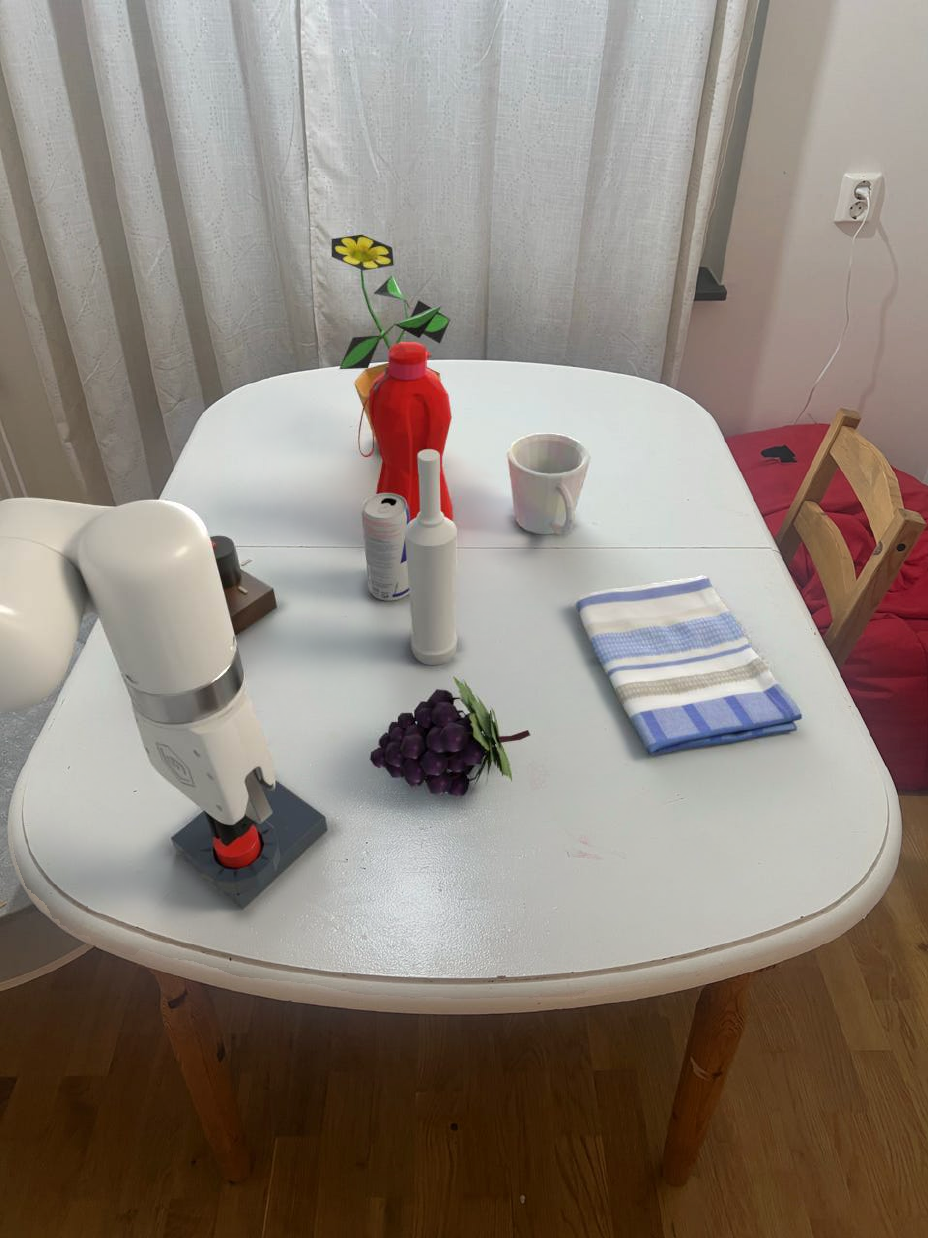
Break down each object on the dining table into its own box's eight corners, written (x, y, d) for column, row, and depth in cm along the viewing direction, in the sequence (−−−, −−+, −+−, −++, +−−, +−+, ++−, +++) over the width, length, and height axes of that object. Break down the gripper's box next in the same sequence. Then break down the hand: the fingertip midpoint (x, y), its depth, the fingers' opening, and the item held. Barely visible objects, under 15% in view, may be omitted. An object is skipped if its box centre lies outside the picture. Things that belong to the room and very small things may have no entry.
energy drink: (419, 578, 104) (416, 496, 96) (404, 606, 100) (399, 522, 92) (378, 570, 105) (371, 488, 97) (361, 597, 101) (353, 514, 93)
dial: (249, 575, 100) (242, 542, 96) (220, 594, 97) (211, 561, 94) (224, 561, 102) (217, 528, 98) (195, 579, 99) (186, 546, 96)
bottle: (405, 662, 93) (393, 466, 77) (418, 631, 97) (409, 437, 80) (451, 670, 92) (449, 473, 76) (462, 638, 96) (462, 444, 79)
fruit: (389, 765, 87) (531, 728, 86) (390, 844, 78) (548, 804, 77) (356, 689, 81) (507, 648, 80) (352, 764, 72) (522, 720, 71)
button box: (242, 922, 71) (233, 896, 68) (168, 857, 75) (158, 831, 73) (333, 835, 77) (329, 809, 74) (261, 780, 82) (254, 753, 79)
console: (195, 664, 93) (189, 643, 91) (137, 624, 98) (130, 603, 96) (288, 599, 101) (285, 579, 99) (231, 565, 106) (227, 545, 104)
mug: (567, 491, 118) (574, 427, 111) (606, 556, 107) (616, 489, 101) (495, 501, 116) (497, 437, 110) (527, 568, 106) (532, 501, 99)
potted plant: (367, 489, 118) (348, 270, 98) (327, 426, 131) (303, 221, 111) (483, 462, 124) (488, 249, 104) (434, 404, 137) (430, 204, 116)
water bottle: (360, 517, 113) (343, 336, 97) (439, 504, 116) (436, 325, 99) (374, 558, 107) (358, 372, 90) (458, 544, 109) (458, 360, 92)
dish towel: (706, 586, 103) (711, 568, 101) (804, 733, 86) (812, 714, 84) (570, 606, 100) (572, 588, 99) (643, 762, 83) (647, 743, 81)
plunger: (236, 876, 70) (232, 865, 69) (208, 852, 72) (204, 841, 70) (269, 846, 72) (266, 835, 71) (241, 824, 74) (237, 812, 72)
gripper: (72, 656, 59) (141, 812, 71) (212, 763, 52) (261, 915, 64) (162, 599, 63) (212, 756, 75) (302, 692, 56) (332, 847, 69)
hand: (235, 829), depth 70 cm, fingers closed
